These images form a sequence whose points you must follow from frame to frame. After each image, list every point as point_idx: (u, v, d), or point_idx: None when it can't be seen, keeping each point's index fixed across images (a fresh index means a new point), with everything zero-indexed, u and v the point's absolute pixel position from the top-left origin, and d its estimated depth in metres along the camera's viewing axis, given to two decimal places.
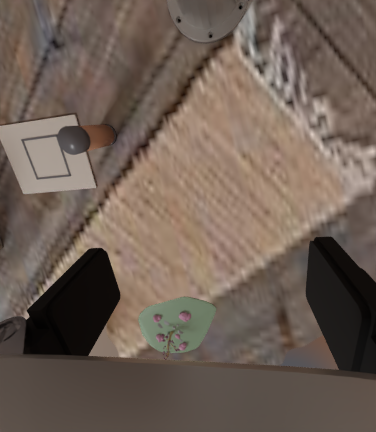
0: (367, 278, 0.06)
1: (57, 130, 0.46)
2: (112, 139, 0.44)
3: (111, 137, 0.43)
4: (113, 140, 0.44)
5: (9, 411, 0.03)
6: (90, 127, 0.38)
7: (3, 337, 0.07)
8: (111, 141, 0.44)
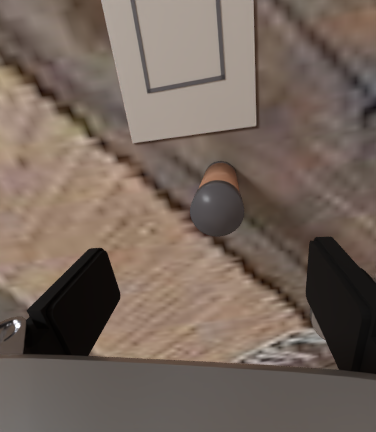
0: (367, 278, 0.06)
1: (231, 81, 0.24)
2: None
3: None
4: None
5: (9, 411, 0.03)
6: None
7: (3, 337, 0.07)
8: None
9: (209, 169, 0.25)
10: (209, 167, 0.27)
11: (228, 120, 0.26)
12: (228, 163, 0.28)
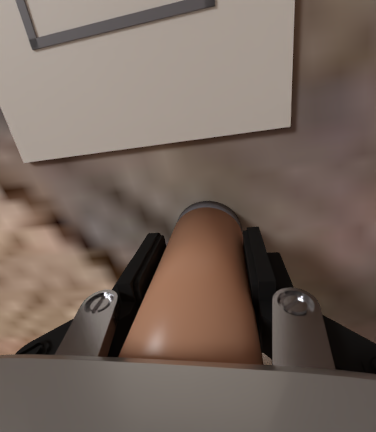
0: (267, 257, 0.08)
1: (232, 10, 0.09)
2: None
3: None
4: None
5: (9, 411, 0.03)
6: None
7: (99, 307, 0.07)
8: None
9: (179, 231, 0.10)
10: (182, 219, 0.12)
11: (224, 113, 0.11)
12: (224, 206, 0.13)
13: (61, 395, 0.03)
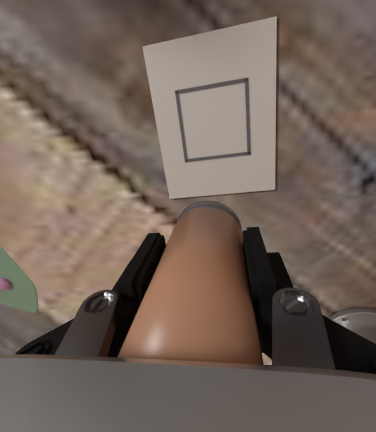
0: (267, 257, 0.08)
1: (256, 156, 0.29)
2: None
3: None
4: None
5: (9, 411, 0.03)
6: None
7: (99, 307, 0.07)
8: None
9: (179, 231, 0.10)
10: (182, 219, 0.12)
11: (252, 184, 0.31)
12: (224, 206, 0.13)
13: (61, 395, 0.03)
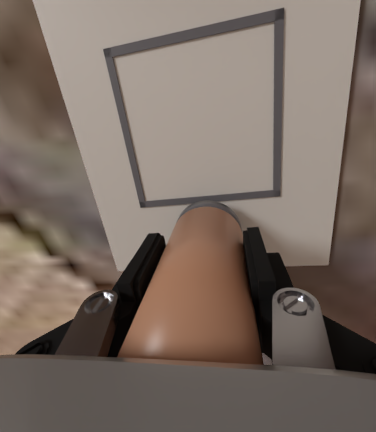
0: (266, 257, 0.08)
1: (292, 199, 0.13)
2: None
3: None
4: None
5: (9, 411, 0.03)
6: None
7: (99, 307, 0.07)
8: None
9: (179, 231, 0.10)
10: (182, 218, 0.12)
11: (280, 254, 0.15)
12: (224, 205, 0.13)
13: (61, 395, 0.03)
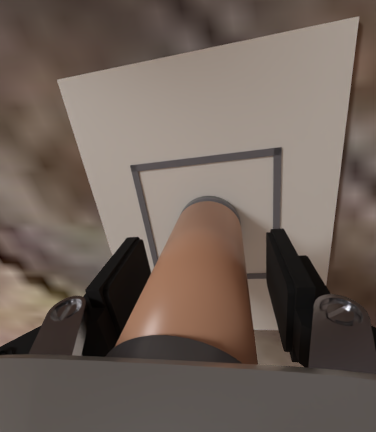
0: (300, 261, 0.07)
1: None
2: None
3: None
4: None
5: (9, 411, 0.03)
6: None
7: (66, 313, 0.07)
8: None
9: (181, 222, 0.11)
10: (185, 211, 0.13)
11: None
12: (225, 200, 0.14)
13: (61, 395, 0.03)
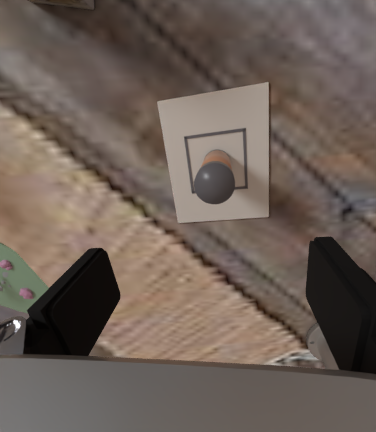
0: (367, 278, 0.06)
1: (252, 189, 0.35)
2: None
3: None
4: None
5: (9, 411, 0.03)
6: None
7: (3, 337, 0.07)
8: None
9: (207, 155, 0.30)
10: (207, 154, 0.32)
11: (249, 212, 0.36)
12: (223, 151, 0.33)
13: (61, 395, 0.03)
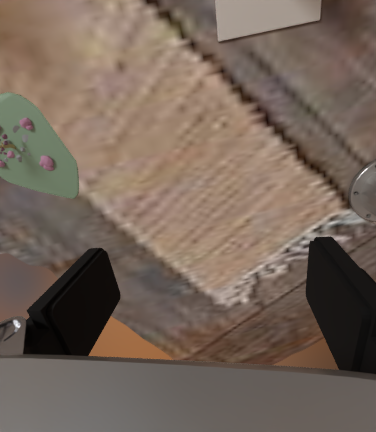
0: (367, 278, 0.06)
1: None
2: None
3: None
4: None
5: (9, 411, 0.03)
6: None
7: (3, 337, 0.07)
8: None
9: None
10: None
11: (298, 16, 0.33)
12: None
13: (61, 395, 0.03)
